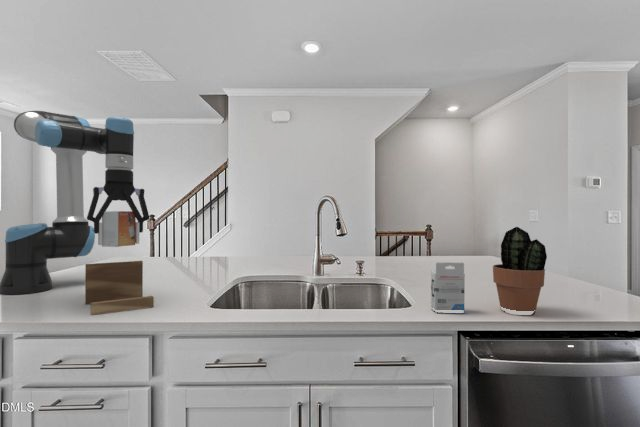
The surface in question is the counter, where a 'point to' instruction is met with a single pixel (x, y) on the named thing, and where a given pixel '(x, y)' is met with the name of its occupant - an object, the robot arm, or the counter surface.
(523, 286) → the potted plant
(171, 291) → the counter surface
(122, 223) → the small box
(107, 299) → the board
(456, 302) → the ink box
